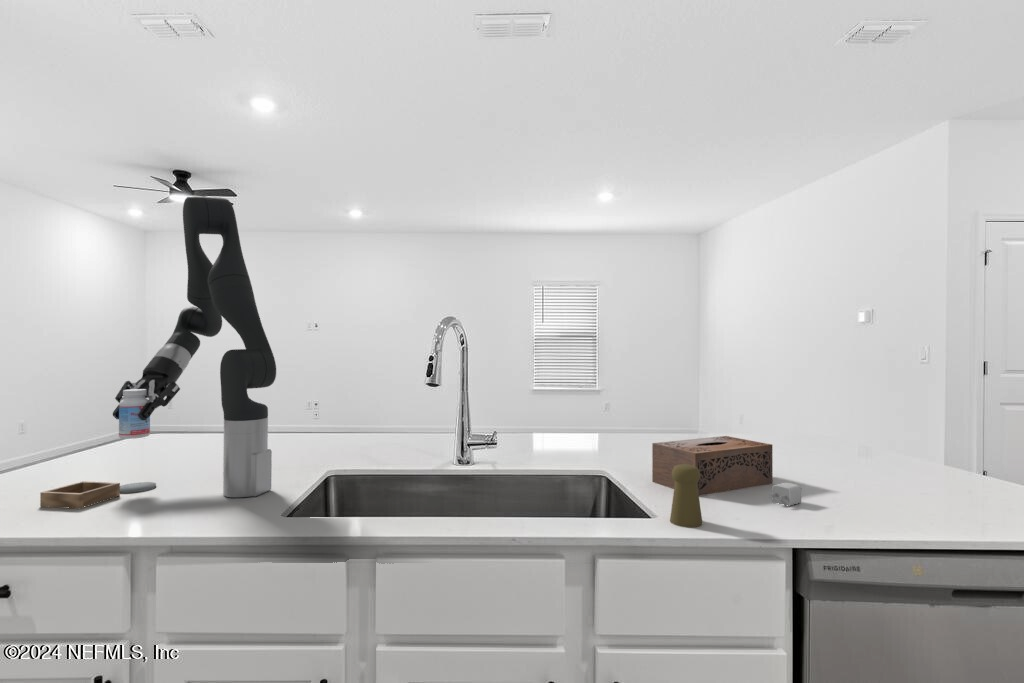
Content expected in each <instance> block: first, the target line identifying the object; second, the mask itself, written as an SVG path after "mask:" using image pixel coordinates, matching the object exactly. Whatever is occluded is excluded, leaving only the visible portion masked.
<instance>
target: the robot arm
mask: <svg viewBox="0 0 1024 683" xmlns="http://www.w3.org/2000/svg"><path fill="white" fill-rule="evenodd" d="M235 212H236V211H235V209H234V206H233V204H232V203H231V201H230V200H229V199H227V198H224V197H217V196H216V197H215V196H214V197H213V196H202V195H188V196H187V197H186V198H185V199H184V202H183V206H182V224H183V235H184V246H185V254H186V263H187V286H186V288H187V289H186V299H187V301H188V302H189V303H190V304H191V305H193V306H191V305H190V306H186V307H185V308H183V309H182V310H181V311H180V313H179V315H178V317H177V322H176V324H175V327H174V330H173V332H172V334H171V336H170V337H169V338H168V340H166V342H165V343H164V345H163V346H162V347H161V348H159V350H158V351H157V352H156V353H155V354H154V356H153V357H152V358H151V360H150V361H149V362H148V364H147V365H146V366H145V367H144V369H143V370H142V377H141V378H139V380H137V382H131V381H130V380H127V381H124V383H123V385H122V386H121V388H120V389H119V391H118V393H117V394H116V396H115V397H114V399H115V401H117V403H118V405H117V406H116V407H115V409H114V410H113V411H112V417H113V418H114V419H116V420H119V403H120V402H121V401H122V400H124V397H123V396H124V395H123V390H130V389H146V390H147V394H146V396H145V398H146V399H148V400H149V403H146V404H145V406H144V407H143V408H142V410H141V411H140V412H139V414H138V417H139V418H140V419H141V420H147V418H148V417H150V418H151V415H152V414H153V412H154V411H155V410H156V409H158V408H160V407H166V406H167V405H169V403H170V402H171V401H172V400H173V398H174V397H175V396H176V395H177V394H178V392H180V390H181V388H180V386H179V385H178V384H177V381H178V380H179V379H180V377H181V376H182V374H183V373H184V371H185V370H186V368H187V367H188V365H189V363H190V361H191V359H192V358H193V357H194V355H195V354H196V353H197V351H198V350H199V348H200V346H201V339H200V338H199V337H198V335H200V336H203V337H208V338H213V337H216V336H217V335H218V334H219V333H220V331H221V329H222V326H223V320H225V321H226V322H227V323H228V324H229V325H230V326H231V328H233V329H234V330H235V331H236V333H237V334H238V335H239V336H240V338H241V340H242V342H243V344H244V348H243V349H241V348H240V349H239V348H238V349H229V350H227V351H225V352H224V353H223V356H222V358H221V360H220V368H219V374H220V375H219V377H220V378H219V379H220V392H221V393H220V394H221V396H220V398H221V400H220V401H221V408H222V412H223V464H222V466H223V467H222V468H223V472H222V474H223V475H222V477H223V481H222V483H223V488H222V490H223V491H222V492H223V493H222V494H223V496H224V497H227V498H246V497H257V496H259V495H262V494H264V493H266V492H268V491H271V490H272V467H273V466H272V465H273V464H272V462H273V461H272V452H273V451H272V449H270V448H269V445H268V442H269V438H268V437H269V434H268V433H269V430H268V429H269V408H268V406H267V405H266V404H264V403H261V402H257V401H255V400H253V399H251V398H250V397H249V395H248V390H249V389H262V388H263V389H264V388H268V387H270V386H272V385H273V384H274V382H275V381H276V378H277V364H276V359H275V356H274V352H273V350H272V348H271V345H270V342H269V339H268V338H267V335H266V332H265V329H264V326H263V323H262V322H261V317H260V314H259V311H258V307H257V302H256V298H255V294H254V290H253V286H252V282H251V279H250V276H249V273H248V269H247V266H246V262H245V258H244V255H243V254H244V253H243V251H242V247H241V246H242V245H241V240H240V236H239V228H238V222H237V218H236V213H235ZM200 235H219V236H221V238H222V246H221V249H220V252H219V254H218V256H217V258H216V259H215V261H214V262H213V263H212V261H211V260H210V259H209V257H208V256H207V254H206V253H205V251H204V249H203V248H202V246H201V242H200V240H201V239H200ZM196 334H197V335H196Z"/></svg>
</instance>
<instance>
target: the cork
mask: <svg viewBox="0 0 1024 683" xmlns="http://www.w3.org/2000/svg"><path fill="white" fill-rule="evenodd" d="M672 477H673V479H674V481H675V486H674V489H673V495H672V503H671V510H670V518H669V521H670V523H671V524H673V525H675V526H677V527H682V528H698V527H702V526H703V524H702V523H703V517H702V510H701V502H700V496H699V494H698V486H697V483H698V482H699V479H700V471H699V469H698V468H697V467H695V466H692V465H687V464H681V465H676V466H675V467H674V468H673V470H672Z"/></svg>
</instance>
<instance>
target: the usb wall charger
mask: <svg viewBox="0 0 1024 683" xmlns="http://www.w3.org/2000/svg"><path fill="white" fill-rule="evenodd" d="M771 492H772V493H771V494H769V495H768V498H769V499H771V501H772V502H773V503H774V502H775V503H774V504H776V503H779V504H778V505H780V504H784V505H788V507H791V506H790V505H792V506H795V505H794V504H796V505H799V504H801V503H802V486H800V485H799V484H795V483H790V482H781V483H778V484H774V485H772V487H771ZM798 503H799V504H798Z"/></svg>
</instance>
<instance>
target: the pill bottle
mask: <svg viewBox="0 0 1024 683" xmlns="http://www.w3.org/2000/svg"><path fill="white" fill-rule="evenodd" d="M146 394H147V390H146V389H130V390H123V395H124V396H122V398H123V397H124V400H122V401H121V402H120V403H119V402H118V405H119V419H118V438H120V439H127V440H130V439H142V438H146V437H149V436H150V433H151V416H150V417H148V418H147V420H141V419H140V418H139V417H138V414H139V412H140V411H141V410H142V408H143V407H144V406H145V404H146V403H149V398H145V396H146Z"/></svg>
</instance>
